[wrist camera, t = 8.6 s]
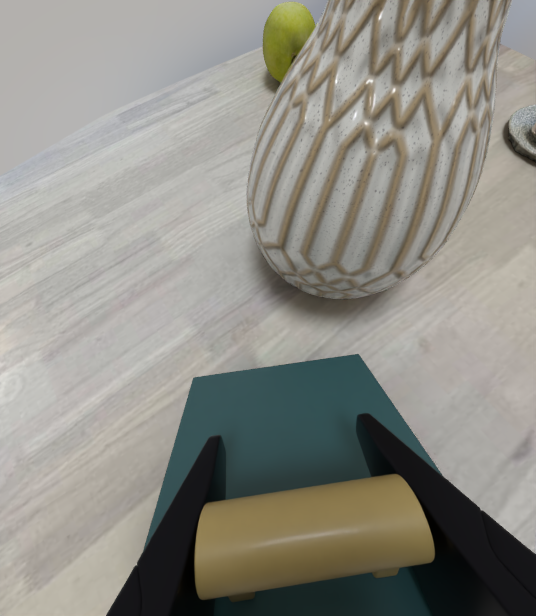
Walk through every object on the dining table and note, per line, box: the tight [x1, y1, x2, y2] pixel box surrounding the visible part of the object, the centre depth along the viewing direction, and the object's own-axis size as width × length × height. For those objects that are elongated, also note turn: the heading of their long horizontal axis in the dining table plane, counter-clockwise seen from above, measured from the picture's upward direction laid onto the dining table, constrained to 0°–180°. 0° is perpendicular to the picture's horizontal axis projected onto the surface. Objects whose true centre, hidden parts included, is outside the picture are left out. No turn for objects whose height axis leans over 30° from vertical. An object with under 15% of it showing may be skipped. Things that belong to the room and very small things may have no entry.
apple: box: [263, 2, 315, 83], centre depth 34 cm, size 8×9×8 cm
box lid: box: [143, 354, 442, 616], centre depth 9 cm, size 11×11×4 cm
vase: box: [247, 0, 512, 299], centre depth 17 cm, size 16×16×20 cm
